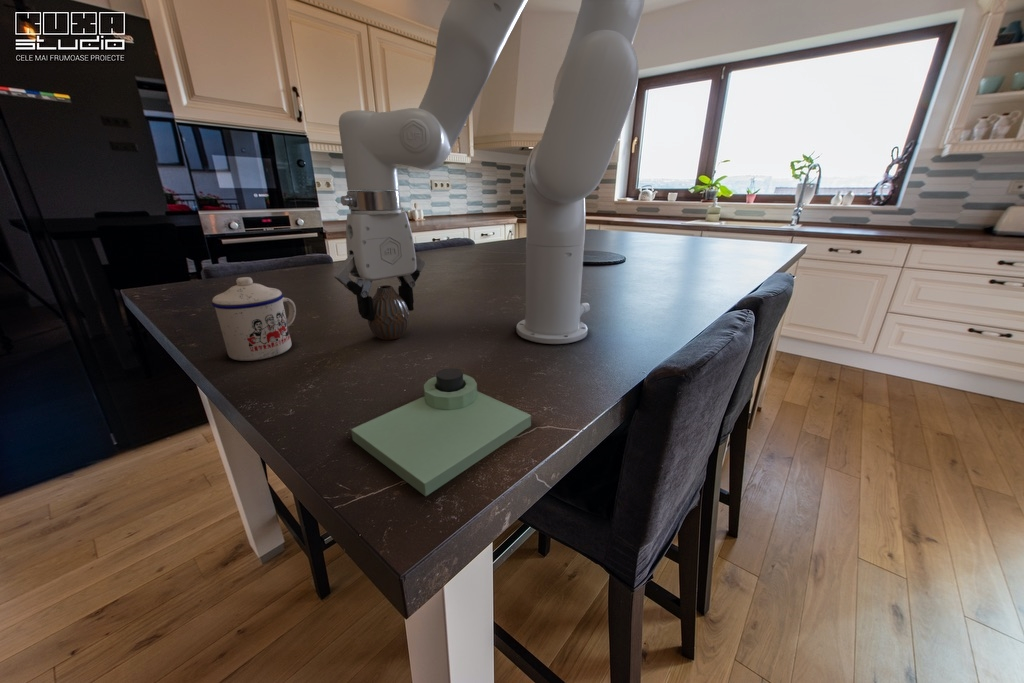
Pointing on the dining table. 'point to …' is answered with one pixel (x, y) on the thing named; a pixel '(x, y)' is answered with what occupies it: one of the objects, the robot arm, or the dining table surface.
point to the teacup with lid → (254, 320)
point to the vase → (389, 314)
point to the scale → (440, 434)
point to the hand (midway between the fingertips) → (388, 313)
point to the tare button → (449, 380)
